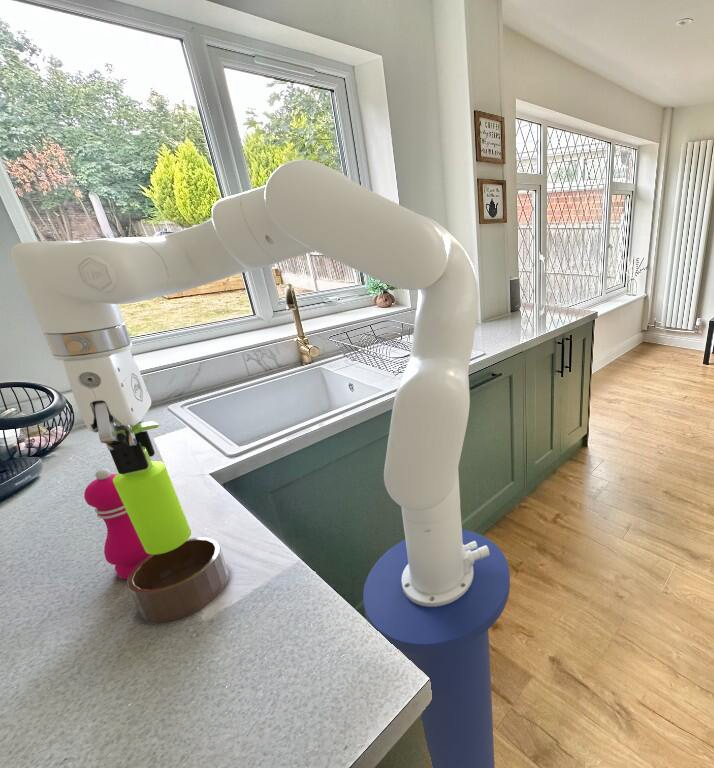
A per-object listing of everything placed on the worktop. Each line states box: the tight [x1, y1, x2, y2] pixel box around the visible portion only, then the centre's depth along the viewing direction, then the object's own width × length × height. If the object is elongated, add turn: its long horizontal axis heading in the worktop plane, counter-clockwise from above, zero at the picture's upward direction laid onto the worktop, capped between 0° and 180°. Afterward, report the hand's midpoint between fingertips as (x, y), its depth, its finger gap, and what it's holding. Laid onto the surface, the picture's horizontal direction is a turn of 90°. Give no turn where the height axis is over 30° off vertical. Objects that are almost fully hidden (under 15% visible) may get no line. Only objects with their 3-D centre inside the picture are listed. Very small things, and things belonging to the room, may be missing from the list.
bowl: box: [126, 536, 230, 624], centre depth 68 cm, size 12×12×6 cm
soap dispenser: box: [113, 420, 192, 555], centre depth 62 cm, size 6×7×20 cm
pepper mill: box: [83, 468, 151, 580], centre depth 70 cm, size 7×7×20 cm
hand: (137, 462), depth 60 cm, fingers closed on soap dispenser, 3 cm apart
